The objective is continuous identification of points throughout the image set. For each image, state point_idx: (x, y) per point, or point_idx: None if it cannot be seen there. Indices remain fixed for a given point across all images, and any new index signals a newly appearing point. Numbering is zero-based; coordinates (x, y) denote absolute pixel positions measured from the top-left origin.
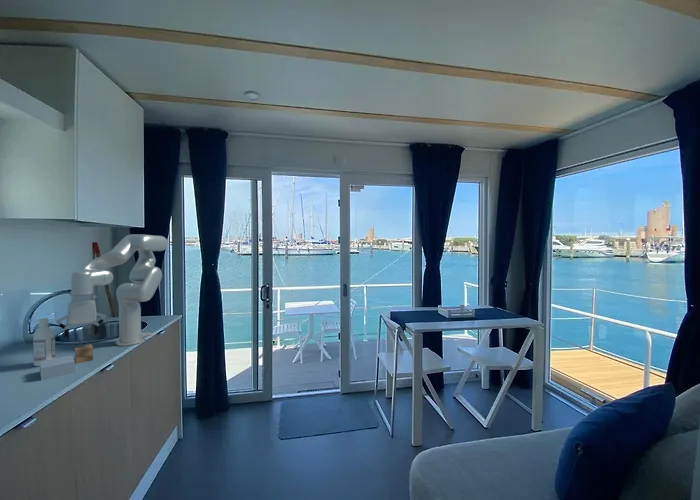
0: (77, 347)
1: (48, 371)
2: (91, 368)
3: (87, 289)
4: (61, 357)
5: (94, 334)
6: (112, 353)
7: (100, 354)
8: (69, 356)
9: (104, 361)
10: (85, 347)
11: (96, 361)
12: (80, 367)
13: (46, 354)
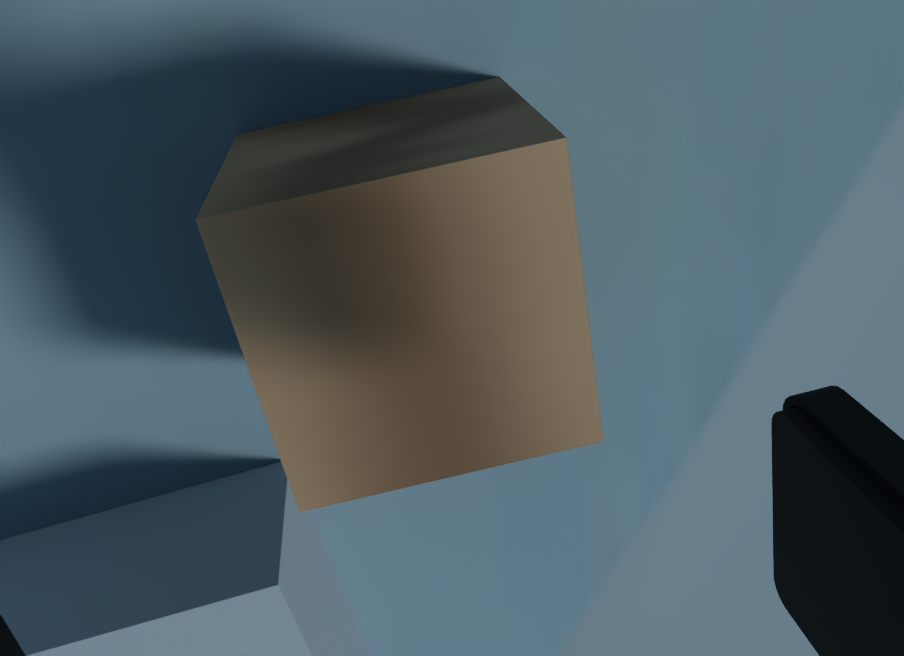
0: (281, 306)
1: None
2: (541, 634)
3: None
4: (133, 632)
5: (773, 522)
6: (824, 61)
7: (636, 2)
8: (255, 627)
9: (680, 448)
10: (461, 393)
11: None
12: (412, 554)
13: None
